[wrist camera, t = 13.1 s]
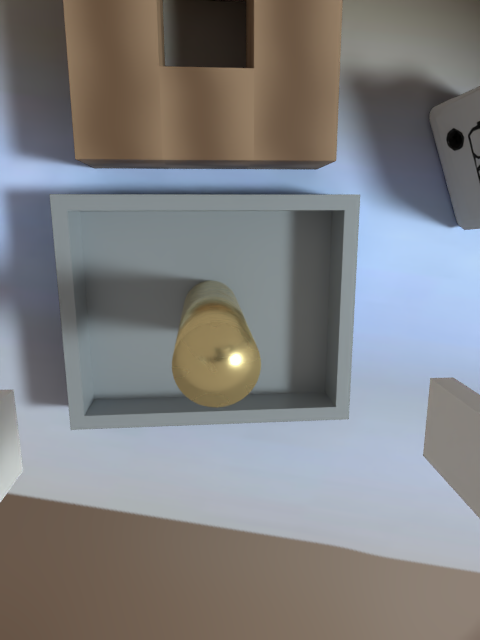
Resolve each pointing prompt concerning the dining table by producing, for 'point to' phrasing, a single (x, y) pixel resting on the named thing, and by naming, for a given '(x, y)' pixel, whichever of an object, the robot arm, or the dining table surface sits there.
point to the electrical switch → (460, 153)
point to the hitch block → (204, 89)
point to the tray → (183, 274)
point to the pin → (214, 348)
